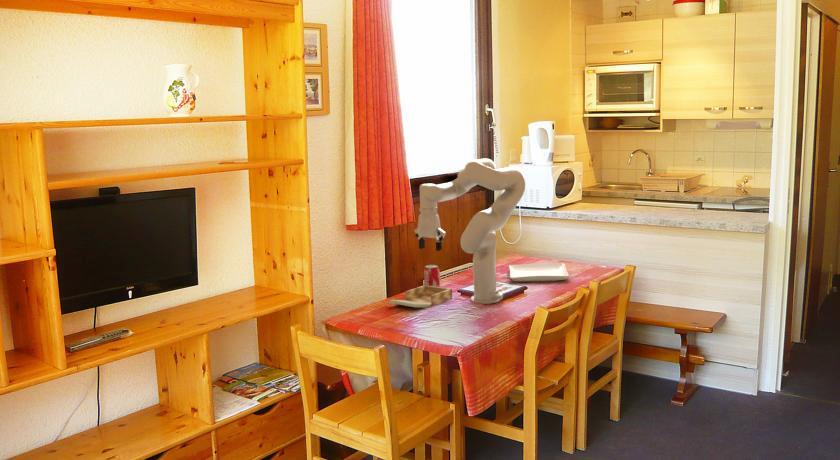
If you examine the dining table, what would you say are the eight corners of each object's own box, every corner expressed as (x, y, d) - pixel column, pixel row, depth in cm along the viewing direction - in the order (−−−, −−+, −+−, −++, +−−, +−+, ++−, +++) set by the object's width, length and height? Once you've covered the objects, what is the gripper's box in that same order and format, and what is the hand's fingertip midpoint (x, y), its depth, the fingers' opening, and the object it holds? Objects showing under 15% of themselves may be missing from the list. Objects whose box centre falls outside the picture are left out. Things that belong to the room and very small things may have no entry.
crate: (425, 295, 341) (424, 284, 340) (452, 300, 331) (451, 289, 330) (406, 302, 331) (405, 291, 330) (433, 307, 322) (432, 295, 321)
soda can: (439, 294, 343) (437, 267, 341) (423, 294, 344) (422, 267, 342) (441, 290, 350) (440, 264, 348) (426, 290, 351) (425, 264, 349)
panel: (406, 300, 330) (389, 299, 322) (431, 304, 321) (415, 304, 313) (406, 302, 330) (389, 302, 322) (431, 307, 321) (414, 307, 313)
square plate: (564, 270, 380) (564, 262, 379) (569, 283, 353) (569, 275, 352) (509, 271, 383) (508, 263, 382) (509, 284, 356) (509, 276, 355)
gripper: (408, 211, 344) (410, 249, 347) (438, 214, 333) (440, 252, 336) (419, 209, 349) (421, 246, 352) (449, 211, 338) (450, 249, 341)
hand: (430, 249), depth 344 cm, fingers open, 9 cm apart
